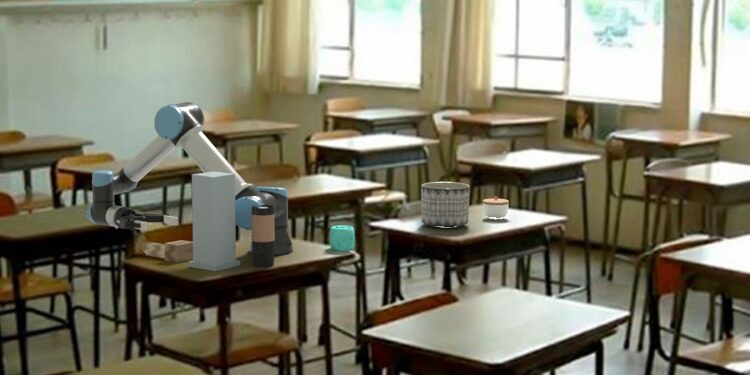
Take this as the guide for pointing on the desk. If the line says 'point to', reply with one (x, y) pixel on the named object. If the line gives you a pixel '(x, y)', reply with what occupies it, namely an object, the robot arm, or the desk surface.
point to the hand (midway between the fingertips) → (163, 223)
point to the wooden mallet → (170, 250)
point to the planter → (445, 203)
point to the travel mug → (263, 236)
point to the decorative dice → (342, 238)
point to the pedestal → (214, 221)
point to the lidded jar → (495, 207)
